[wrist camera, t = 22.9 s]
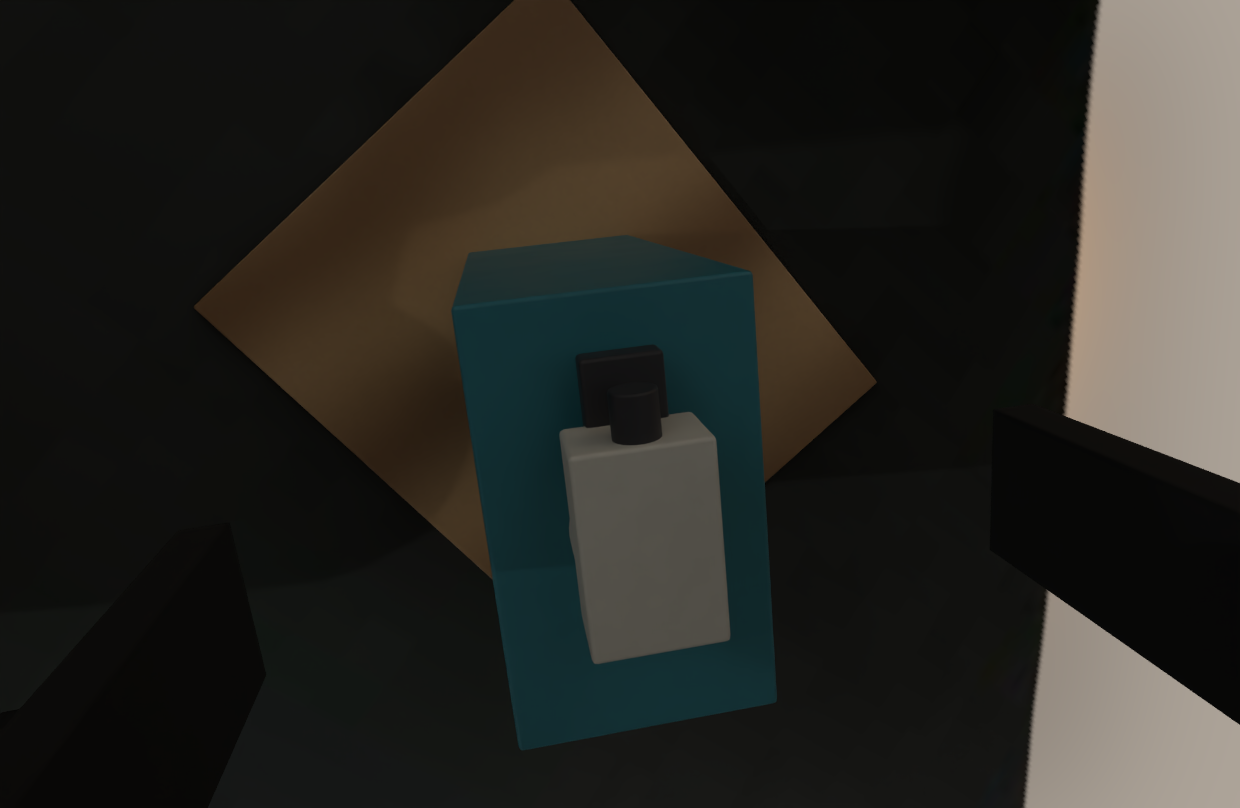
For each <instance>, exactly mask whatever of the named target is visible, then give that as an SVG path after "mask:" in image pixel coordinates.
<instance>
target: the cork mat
mask: <svg viewBox="0 0 1240 808" xmlns="http://www.w3.org/2000/svg"><path fill="white" fill-rule="evenodd" d="M621 235H629V236H633V237H636V238H640V239H643V240H646V241H650V242H653V243H657V244H660V245H663V246H667V247H670V248H674V249H677V250H680V251H684V252H687V253H691V254H694V255H697V256H701V257H704V258H708V259H711V260H714V261H718V262H721V263H725V264H728V265H731V266H735V267H738V268H742V269H745V270H748V271H751V272H752V274H753V287H754V305H755V322H756V340H757V358H758V375H759V393H760V410H761V428H762V446H763V463H764V481H765V482H766V481H767V480H768V479H769V478H771V477H772V476H773V475H774V474H775V473H776V472H777V471H778V470H779V469H781V468H782V467H783V466H784V465H785V464H786V463H787V462H788V461H790V460H791V459H792V458H793V457H794V456H795V455H796V454H797V453H799V452H800V451H801V450H802V449H803V448H804V447H805V446H806V445H807V444H809V443H810V442H811V441H812V440H813V439H814V438H815V437H816V436H818V435H819V434H820V433H821V432H822V431H823V430H824V429H825V428H827V427H828V426H829V425H830V424H831V423H832V422H833V421H834V420H835V419H837V418H838V417H839V416H840V415H841V414H842V413H843V412H844V411H846V410H847V409H848V408H849V407H850V406H851V405H852V404H853V403H855V402H856V401H857V400H858V399H859V398H860V397H861V396H862V395H863V394H865V393H866V392H867V391H868V390H869V389H870V388H871V387H872V386H874V385H875V384H876V383H877V382H876V380H875V379H874V378H873V377H872V375H871V374H870V373H869V372H868V370H867V369H866V368H865V367H864V365H863V364H862V363H861V362H860V360H859V359H858V358H857V357H856V355H855V354H854V353H853V352H852V350H851V349H850V348H849V347H848V346H847V344H846V343H845V342H844V341H843V339H842V338H841V337H840V336H839V334H838V333H837V332H836V331H835V329H834V328H833V327H832V326H831V324H830V323H829V322H828V321H827V319H826V318H825V317H824V316H823V314H822V313H821V312H820V311H819V309H818V308H817V307H816V306H815V304H814V303H813V302H812V301H811V299H810V298H809V297H808V296H807V294H806V293H805V292H804V291H803V290H802V288H801V287H800V286H799V285H798V283H797V282H796V281H795V280H794V278H793V277H792V276H791V275H790V273H789V272H788V271H787V270H786V268H785V267H784V266H783V265H782V263H781V262H780V261H779V260H778V258H777V257H776V256H775V255H774V253H773V252H772V251H771V250H770V248H769V247H768V246H767V245H766V243H765V242H764V241H763V240H762V238H761V237H760V236H759V235H758V234H757V232H756V231H755V230H754V229H753V227H752V226H751V225H750V224H749V222H748V221H747V220H746V219H745V217H744V216H743V215H742V214H741V212H740V211H739V210H738V209H737V207H736V206H735V205H734V204H733V202H732V201H731V200H730V199H729V197H728V196H727V195H726V194H725V192H724V191H723V190H722V189H721V187H720V186H719V185H718V184H717V183H716V181H715V180H714V179H713V178H712V176H711V175H710V174H709V173H708V171H707V170H706V169H705V168H704V166H703V165H702V164H701V163H700V161H699V160H698V159H697V158H696V156H695V155H694V154H693V153H692V151H691V150H690V149H689V148H688V146H687V145H686V144H685V143H684V141H683V140H682V139H681V138H680V136H679V135H678V134H677V133H676V131H675V130H674V129H673V128H672V127H671V125H670V124H669V123H668V122H667V120H666V119H665V118H664V117H663V115H662V114H661V113H660V112H659V110H658V109H657V108H656V107H655V105H654V104H653V103H652V102H651V100H650V99H649V98H648V97H647V95H646V94H645V93H644V92H643V90H642V89H641V88H640V87H639V85H638V84H637V83H636V82H635V80H634V79H633V78H632V77H631V75H630V74H629V73H628V72H627V71H626V69H625V68H624V67H623V66H622V64H621V63H620V62H619V61H618V59H617V58H616V57H615V56H614V54H613V53H612V52H611V51H610V49H609V48H608V47H607V46H606V44H605V43H604V42H603V41H602V39H601V38H600V37H599V36H598V34H597V33H596V32H595V31H594V29H593V28H592V27H591V26H590V24H589V23H588V22H587V21H586V20H585V18H584V17H583V16H582V15H581V13H580V12H579V11H578V10H577V8H576V7H575V6H574V5H573V3H572V2H571V1H570V0H514V1H513V2H512V3H511V4H510V5H509V6H508V7H507V8H505V9H504V10H503V11H502V12H501V13H500V14H499V15H498V16H497V17H496V18H495V19H494V20H493V21H492V22H491V23H490V24H489V25H488V26H487V27H486V28H485V29H483V30H482V31H481V32H480V33H479V34H478V35H477V36H476V37H475V38H474V39H473V40H472V41H471V42H470V43H469V44H468V45H467V46H466V47H465V48H464V49H463V50H461V51H460V52H459V53H458V54H457V55H456V56H455V57H454V58H453V59H452V60H451V61H450V62H449V63H448V64H447V65H446V66H445V67H444V68H443V69H442V70H441V71H439V72H438V73H437V74H436V75H435V76H434V77H433V78H432V79H431V80H430V81H429V82H428V83H427V84H426V85H425V86H424V87H423V88H422V89H421V90H420V91H419V92H418V93H416V94H415V95H414V96H413V97H412V98H411V99H410V100H409V101H408V102H407V103H406V104H405V105H404V106H403V107H402V108H401V109H400V110H399V111H398V112H397V113H396V114H394V115H393V116H392V117H391V118H390V119H389V120H388V121H387V122H386V123H385V124H384V125H383V126H382V127H381V128H380V129H379V130H378V131H377V132H376V133H375V134H374V135H372V136H371V137H370V138H369V139H368V140H367V141H366V142H365V143H364V144H363V145H362V146H361V147H360V148H359V149H358V150H357V151H356V152H355V153H354V154H353V155H352V156H350V157H349V158H348V159H347V160H346V161H345V162H344V163H343V164H342V165H341V166H340V167H339V168H338V169H337V170H336V171H335V172H334V173H333V174H332V175H331V176H330V177H328V178H327V179H326V180H325V181H324V182H323V183H322V184H321V185H320V186H319V187H318V188H317V189H316V190H315V191H314V192H313V193H312V194H311V195H310V196H309V197H308V198H306V199H305V200H304V201H303V202H302V203H301V204H300V205H299V206H298V207H297V208H296V209H295V210H294V211H293V212H292V213H291V214H290V215H289V216H288V217H287V218H286V219H285V220H283V221H282V222H281V223H280V224H279V225H278V226H277V227H276V228H275V229H274V230H273V231H272V232H271V233H270V234H269V235H268V236H267V237H266V238H265V239H264V240H263V241H261V242H260V243H259V244H258V245H257V246H256V247H255V248H254V249H253V250H252V251H251V252H250V253H249V254H248V255H247V256H246V257H245V258H244V259H243V260H242V261H241V262H239V263H238V264H237V265H236V266H235V267H234V268H233V269H232V270H231V271H230V272H229V273H228V274H227V275H226V276H225V277H224V278H223V279H222V280H221V281H220V282H219V283H217V284H216V285H215V286H214V287H213V288H212V289H211V290H210V291H209V292H208V293H207V294H206V295H205V296H204V297H203V298H202V299H201V300H200V301H199V302H198V303H197V304H195V305H194V308H195V309H196V310H197V311H198V312H199V313H200V314H201V315H202V316H203V317H204V318H206V319H207V320H208V321H209V322H210V323H211V324H212V325H213V326H214V327H215V328H217V329H218V330H219V331H220V332H221V333H222V334H223V335H224V336H225V337H226V338H228V339H229V340H230V341H231V342H232V343H233V344H234V345H235V346H236V347H237V348H239V349H240V350H241V351H242V352H243V353H244V354H245V355H246V356H247V357H248V358H250V359H251V360H252V361H253V362H254V363H255V364H256V365H257V366H258V367H259V368H261V369H262V370H263V371H264V372H265V373H266V374H267V375H268V376H269V377H270V378H272V379H273V380H274V381H275V382H276V383H277V384H278V385H279V386H280V387H281V388H283V389H284V390H285V391H286V392H287V393H288V394H289V395H290V396H291V397H292V398H294V399H295V400H296V401H297V402H298V403H299V404H300V405H301V406H302V407H303V408H304V409H306V410H307V411H308V412H309V413H310V414H311V415H312V416H313V417H314V418H315V419H317V420H318V421H319V422H320V423H321V424H322V425H323V426H324V427H325V428H326V429H328V430H329V431H330V432H331V433H332V434H333V435H334V436H335V437H336V438H337V439H339V440H340V441H341V442H342V443H343V444H344V445H345V446H346V447H347V448H348V449H350V450H351V451H352V452H353V453H354V454H355V455H356V456H357V457H358V458H359V459H361V460H362V461H363V462H364V463H365V464H366V465H367V466H368V467H369V468H370V469H372V470H373V471H374V472H375V473H376V474H377V475H378V476H379V477H380V478H381V479H383V480H384V481H385V482H386V483H387V484H388V485H389V486H390V487H391V488H392V489H394V490H395V491H396V492H397V493H398V494H399V495H400V496H401V497H402V498H403V499H405V500H406V501H407V502H408V503H409V504H410V505H411V506H412V507H413V508H414V509H416V510H417V511H418V512H419V513H420V514H421V515H422V516H423V517H424V518H425V519H427V520H428V521H429V522H430V523H431V524H432V525H433V526H434V527H435V528H436V529H438V530H439V531H440V532H441V533H442V534H443V535H444V536H445V537H446V538H447V539H449V540H450V541H451V542H452V543H453V544H454V545H455V546H456V547H457V548H458V549H460V550H461V551H462V552H463V553H464V554H465V555H466V556H467V557H468V558H469V559H471V560H472V561H473V562H474V563H475V564H476V565H477V566H478V567H479V568H480V569H482V570H483V571H484V572H485V573H486V574H487V575H488V576H489V577H490V578H491V579H493V578H492V572H491V565H490V559H489V552H488V546H487V539H486V533H485V526H484V520H483V513H482V507H481V501H480V494H479V488H478V481H477V475H476V468H475V462H474V455H473V449H472V442H471V436H470V429H469V423H468V416H467V410H466V404H465V397H464V391H463V384H462V378H461V371H460V365H459V358H458V352H457V345H456V339H455V332H454V326H453V319H452V313H451V310H452V306H453V303H454V299H455V296H456V293H457V290H458V286H459V283H460V280H461V277H462V273H463V270H464V267H465V263H466V260H467V257H468V254H469V253H470V252H478V251H487V250H496V249H505V248H514V247H523V246H532V245H541V244H549V243H558V242H567V241H576V240H585V239H594V238H603V237H612V236H621Z"/></svg>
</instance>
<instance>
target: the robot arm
mask: <svg viewBox="0 0 1240 808" xmlns="http://www.w3.org/2000/svg"><path fill="white" fill-rule="evenodd" d="M990 550H991V551H993V552H994V553H995V554H997V555H998V556H1000V557H1001V558H1003V559H1004V560H1005V561H1007V562H1008V563H1010V564H1011V565H1013V566H1014V567H1015V568H1017V569H1018V570H1020V571H1021V572H1023V573H1024V574H1025V575H1027V576H1028V577H1030V578H1031V579H1033V580H1034V581H1035V582H1037V583H1038V584H1040V585H1041V586H1043V587H1044V588H1045V589H1047V590H1048V591H1050V592H1051V593H1053V594H1054V595H1055V596H1057V597H1058V598H1060V599H1061V600H1063V601H1064V602H1065V603H1067V604H1068V605H1070V606H1071V607H1073V608H1074V609H1075V610H1077V611H1078V612H1080V613H1081V614H1083V615H1084V616H1085V617H1087V618H1088V619H1090V620H1091V621H1093V622H1094V623H1095V624H1097V625H1098V626H1100V627H1101V628H1102V629H1104V630H1105V631H1107V632H1108V633H1110V634H1111V635H1112V636H1114V637H1115V638H1117V639H1118V640H1120V641H1121V642H1123V643H1124V644H1125V645H1127V646H1129V647H1130V648H1131V649H1133V650H1134V651H1135V652H1137V653H1138V654H1140V655H1141V656H1142V657H1144V658H1145V659H1147V660H1148V661H1150V662H1151V663H1152V664H1154V665H1155V666H1157V667H1158V668H1160V669H1161V670H1163V671H1164V672H1165V673H1167V674H1168V675H1170V676H1171V677H1173V678H1174V679H1175V680H1177V681H1178V682H1180V683H1181V684H1182V685H1184V686H1185V687H1187V688H1188V689H1190V690H1191V691H1192V692H1194V693H1195V694H1197V695H1198V696H1200V697H1201V698H1202V699H1204V700H1205V701H1207V702H1208V703H1210V704H1211V705H1212V706H1214V707H1215V708H1217V709H1218V710H1220V711H1221V712H1223V713H1224V714H1225V715H1227V716H1228V717H1229V718H1231V719H1232V720H1234V721H1235V722H1237V723H1238V724H1240V483H1238V482H1235V481H1233V480H1230V479H1227V478H1225V477H1222V476H1220V475H1217V474H1214V473H1211V472H1209V471H1207V470H1204V469H1201V468H1199V467H1196V466H1193V465H1191V464H1188V463H1186V462H1183V461H1181V460H1178V459H1175V458H1173V457H1170V456H1168V455H1165V454H1162V453H1160V452H1157V451H1154V450H1152V449H1149V448H1147V447H1144V446H1141V445H1139V444H1136V443H1134V442H1131V441H1128V440H1126V439H1123V438H1121V437H1118V436H1115V435H1113V434H1110V433H1107V432H1105V431H1102V430H1099V429H1097V428H1094V427H1092V426H1089V425H1087V424H1084V423H1081V422H1079V421H1076V420H1073V419H1071V418H1068V417H1066V416H1063V415H1061V414H1058V413H1055V412H1053V411H1050V410H1047V409H1045V408H1042V407H1040V406H1037V405H1034V404H1027V405H1021V406H1014V407H1007V408H1000V409H994V410H993V448H992V488H991V529H990ZM265 676H266V672H265V668H264V664H263V660H262V655H261V651H260V647H259V643H258V639H257V635H256V631H255V626H254V622H253V618H252V614H251V610H250V606H249V602H248V597H247V593H246V589H245V585H244V581H243V577H242V573H241V568H240V564H239V560H238V556H237V552H236V548H235V544H234V539H233V535H232V531H231V527H230V523H225V524H218V525H212V526H205V527H198V528H191V529H185V530H178V532H177V533H176V534H175V535H174V536H173V537H172V538H171V539H170V541H169V542H168V543H167V544H166V545H165V546H164V547H163V548H162V550H161V551H160V552H159V553H158V554H157V555H156V556H155V557H154V559H153V560H152V561H151V562H150V563H149V564H148V565H147V566H146V568H145V569H144V570H143V571H142V572H141V573H140V574H139V575H138V577H137V578H136V579H135V580H134V581H133V582H132V583H131V584H130V586H129V587H128V588H127V589H126V590H125V591H124V592H123V594H122V595H121V596H120V597H119V598H118V599H117V600H116V601H115V603H114V604H113V605H112V606H111V607H110V608H109V609H108V610H107V612H106V613H105V614H104V615H103V616H102V617H101V618H100V619H99V621H98V622H97V623H96V624H95V625H94V626H93V627H92V628H91V630H90V631H89V632H88V633H87V634H86V635H85V636H84V637H83V639H82V640H81V641H80V642H79V643H78V644H77V645H76V646H75V648H74V649H73V650H72V651H71V652H70V653H69V654H68V655H67V657H66V658H65V659H64V660H63V661H62V662H61V663H60V664H59V666H58V667H57V668H56V669H55V670H54V671H53V672H52V673H51V675H50V676H49V677H48V678H47V679H46V680H45V681H44V682H43V684H42V685H41V686H40V687H39V688H38V689H37V690H36V692H35V693H34V694H33V695H32V696H31V697H30V698H29V699H28V701H27V702H26V703H25V704H24V705H23V706H22V707H21V708H20V709H18V710H13V711H7V712H2V713H1V714H0V808H208V806H209V803H210V801H211V799H212V797H213V794H214V792H215V790H216V788H217V785H218V783H219V781H220V778H221V776H222V774H223V772H224V769H225V767H226V765H227V763H228V760H229V758H230V756H231V753H232V751H233V749H234V747H235V744H236V742H237V740H238V738H239V735H240V733H241V731H242V729H243V726H244V724H245V722H246V719H247V717H248V715H249V713H250V710H251V708H252V706H253V704H254V701H255V699H256V697H257V695H258V692H259V690H260V688H261V685H262V683H263V681H264V679H265Z"/></svg>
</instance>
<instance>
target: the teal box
mask: <svg viewBox="0 0 1240 808" xmlns="http://www.w3.org/2000/svg"><path fill="white" fill-rule="evenodd" d="M451 313H452V319H453V326H454V332H455V339H456V345H457V352H458V358H459V365H460V371H461V378H462V384H463V391H464V397H465V404H466V410H467V416H468V423H469V429H470V436H471V442H472V449H473V455H474V462H475V468H476V475H477V481H478V488H479V494H480V501H481V507H482V513H483V520H484V526H485V533H486V539H487V546H488V552H489V559H490V565H491V572H492V578H493V585H494V591H495V598H496V604H497V610H498V617H499V623H500V630H501V636H502V643H503V649H504V656H505V662H506V669H507V675H508V682H509V688H510V694H511V701H512V707H513V714H514V720H515V727H516V733H517V740H518V746H519V748H520V749H521V750H528V749H533V748H538V747H544V746H549V745H554V744H559V743H565V742H570V741H575V740H581V739H586V738H591V737H597V736H602V735H607V734H613V733H618V732H623V731H628V730H634V729H639V728H644V727H650V726H655V725H660V724H666V723H671V722H676V721H681V720H687V719H692V718H697V717H703V716H708V715H713V714H719V713H724V712H729V711H734V710H740V709H745V708H750V707H756V706H761V705H766V704H772V703H775V702H776V700H777V692H776V674H775V657H774V639H773V622H772V604H771V586H770V569H769V551H768V534H767V516H766V498H765V481H764V463H763V446H762V428H761V410H760V393H759V375H758V358H757V340H756V322H755V305H754V287H753V274H752V272H751V271H748V270H745V269H742V268H738V267H735V266H731V265H728V264H725V263H721V262H718V261H714V260H711V259H708V258H704V257H701V256H697V255H694V254H691V253H687V252H684V251H680V250H677V249H674V248H670V247H667V246H663V245H660V244H657V243H653V242H650V241H646V240H643V239H640V238H636V237H633V236H629V235H621V236H612V237H603V238H594V239H585V240H576V241H567V242H558V243H549V244H541V245H532V246H523V247H514V248H505V249H496V250H487V251H478V252H470V253H469V254H468V257H467V260H466V263H465V267H464V270H463V273H462V277H461V280H460V283H459V286H458V290H457V293H456V296H455V299H454V303H453V306H452V310H451Z"/></svg>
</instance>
